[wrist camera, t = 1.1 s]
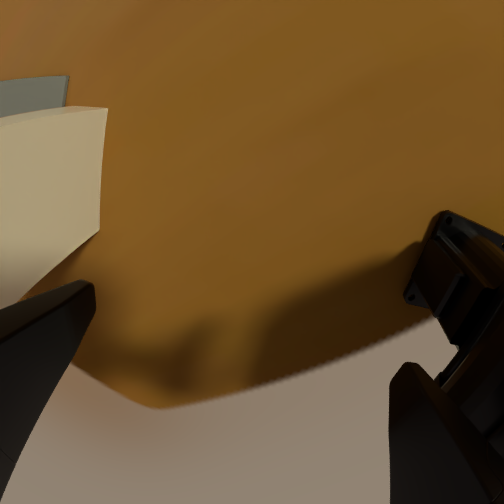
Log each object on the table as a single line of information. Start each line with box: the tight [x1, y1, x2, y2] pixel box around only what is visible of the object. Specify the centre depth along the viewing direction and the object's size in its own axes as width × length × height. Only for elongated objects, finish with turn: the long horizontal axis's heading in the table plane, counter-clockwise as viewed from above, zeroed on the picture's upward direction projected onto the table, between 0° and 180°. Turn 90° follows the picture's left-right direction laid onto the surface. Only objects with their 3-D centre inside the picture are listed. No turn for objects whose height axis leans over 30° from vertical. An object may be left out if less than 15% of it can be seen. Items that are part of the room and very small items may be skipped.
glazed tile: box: [0, 106, 108, 309], centre depth 12 cm, size 3×8×10 cm, turn 167°
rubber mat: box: [0, 76, 69, 118], centre depth 17 cm, size 11×12×1 cm
